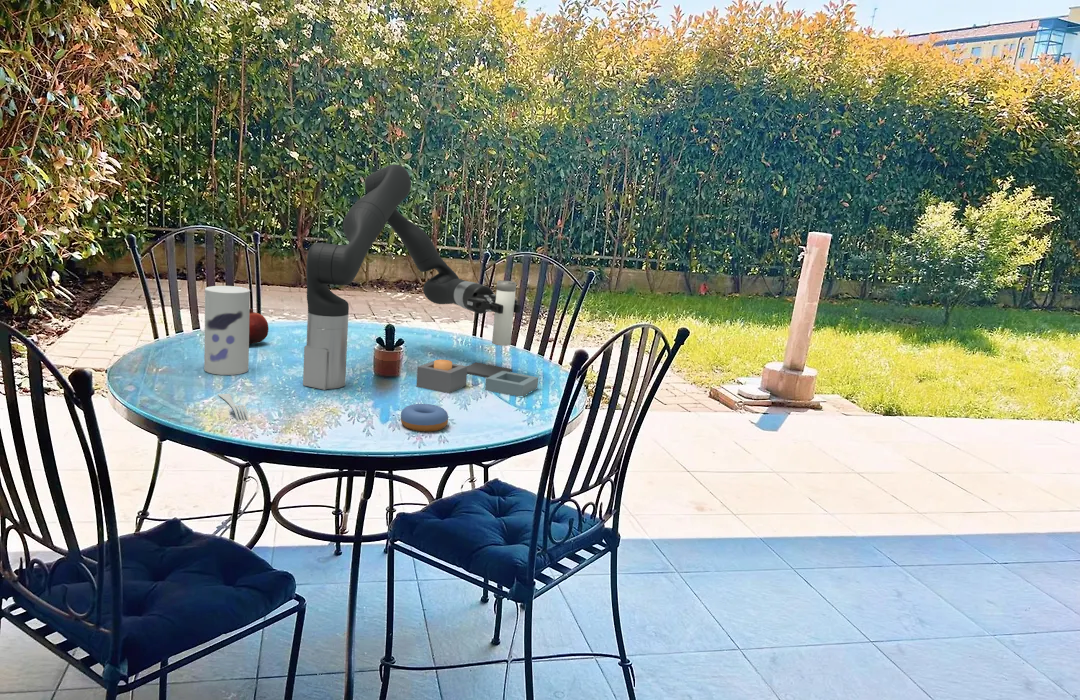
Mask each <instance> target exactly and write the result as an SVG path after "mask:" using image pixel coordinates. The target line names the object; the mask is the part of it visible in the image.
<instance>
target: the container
mask: <svg viewBox="0 0 1080 700" xmlns="http://www.w3.org/2000/svg"><path fill="white" fill-rule="evenodd" d="M250 292H251V289H249V288H246V287H242V286H236V285H235V286H233V285H213V286H212V285H211V286H207V287H205V288H204V350H203V351H204V352H203V353H204V357H203V359H204V365H203V368H204V371H205V372H206V373H208V374H213V375H221V376H231V375H240V374H245V373H246V372H248V371H249V364H250V362H249V356H250V355H249V354H250V353H249V351H250V348H249V347H250V344H249V313H250V309H251V308H250V306H251V305H250V304H251V293H250Z"/></svg>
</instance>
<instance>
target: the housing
mask: <svg viewBox="0 0 1080 700" xmlns="http://www.w3.org/2000/svg"><path fill="white" fill-rule="evenodd" d="M538 385H539V377H537V376H532V375H526V374H523V373H516V372H513V371H511V372H507V371H501V372H499V373H496V374H494V375H492V376H490V377H488V378H487V377H485V386H484V391H487V390H488V392H493V391H494V392H493V393H498V394H504V395H508V394H510V395H509V396H513V395H516V396H515V397H518V396H524V395H526V394H527V395H529V394H530V393H529V392H531V391H533V390H534V391H536V390H537V389H538ZM536 388H537V389H536ZM535 389H536V390H535ZM534 391H533V392H534ZM528 393H529V394H528ZM531 393H532V392H531ZM527 395H526V396H527ZM524 397H525V396H524Z"/></svg>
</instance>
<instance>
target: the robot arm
mask: <svg viewBox="0 0 1080 700" xmlns="http://www.w3.org/2000/svg"><path fill="white" fill-rule="evenodd" d="M411 180H412V179H411V177H410V174H409V172H408V170H406V168H405V167H403V166H401V165H399V164H389V165H388V166H385V167H382V168H381V169H378V170H377V171H374V172H372V173H370V174H369V175H367V176H366V178H365V181H364V186H365V191H366V194H365V195H363V196H361V197H360V198H359V199H358V200H357V201H356V202H355V203H354V204H353V205H352V206H351V208H350V209H349V211H348V212H347V213H346V215H345V216H344V219H343V221H342V229H343V232H344V235H345V238H346V240H347V241H348V243H347V244H344V245H342V244H334V243H325V242H315V243H313V244H312V245H311V246H310V247H309V249H308V252H307V256H306V266H305V267H306V271H305V272H306V302H307V321H306V323H307V325H306V326H307V327H306V345H305V346H304V347H303V348H304V349H303V351H304V352H303V376H302V379H303V380H302V385H303V386H305V387H310V388H313V389H319V390H324V391H326V390H330V389H339V388H342V387H344V386H346V379H347V377H346V375H347V355H348V354H347V353H348V352H347V351H348V333H349V313H350V312H349V310H350V305H349V301H347V300H346V299H344V298H342V297H340V296H338V295H337V294H335V293H334V292H333V291H332V290H331V289H330V288H329V286H328V285H333V286H334V285H335V286H348V285H350V284H351V283H352V282H353V281H354V280H355V278H356V277H357V275H358V273H359V271H360V268H361V266H362V264H363V262H364V260H365V258H366V255H367V253H368V252H369V251H370V248H371V247H372V245H373V244H374V243H375V241H376V239H377V238H378V237H379V235H380V234H381V232H382V230H384V227H385V225H386V224H389V226H390V227H391V229H393V231H394V232H395V234H396V235H397V236H398V238H399V239H400V240H401V243H403V245H404V247H405V248H406V250H407V252H408V253H409V255H410V257H411V259H412V260H413V262H414V264H415V266H416V268H417V269H418V270H419V272H422V273H424V272H429V271H431V270H436V271H437V274H436V275H434V276H432V277H430V278H429V279H428V280H426V281H425V283H424V284H423V288H422V290H423V294H424V297H426V299H428V300H429V301H430V302H431V303H433V304H437V305H452V304H453V305H456V306H459V307H460V308H463V309H465V310H468V311H471V312H474V313H476V314H479V315H480V314H481V315H482V314H486V313H488V312H489V313H491V312H493V313H495V312H496V313H499V314H502V313H503V305H501V304H498V303H496V294H495V293H494V292H493V290H492V289H491V287H489V286H487V285H484V284H482V283H477V282H474V281H467V280H464V279H462V278H459V276H458V275H457V273H456V272H455V271H454V270H453V269H452V268H451V267H449V265H448V264H447V263H446V261H444V259H443V258H442V257H441V256H440V254H439V252H438V250H437V249H436V247H435V246H434V243H433V241H432V240H431V238H430V237H429V235H428V234H427V233H426V232H425V231H424V230H423V229H422V228H420V227H419V226H418V225H416V224H414V223H413V222H412V221H410V220H409V219H407V218H406V217H404V216H403V214H401V212H399V210H398V209H397V207H398V206H399V205H400V204H401V203H402V202H403V201H404V200H405V199H406V198H407V196H408V195H409V193H410V191H411V189H412V181H411ZM521 308H522V307H521V304H520V303H518V300H517V299H515V302H514V313H516V314H520V313H521Z"/></svg>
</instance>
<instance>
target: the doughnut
mask: <svg viewBox="0 0 1080 700" xmlns="http://www.w3.org/2000/svg"><path fill="white" fill-rule="evenodd" d="M400 422H401V423H402V425H403V426H404V427H405V428H407V429H409V430H413V431H416V432H424V433H425V432H437V431H440V430H443V429H444V428H445V427H446V426H447V425H448V423H449V414H448V411H446V409H445V408H443V407H440V406H439V405H435V404H430V403H414V404H409V405H407V406H405V407H404V408H403V409H401V412H400Z"/></svg>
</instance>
